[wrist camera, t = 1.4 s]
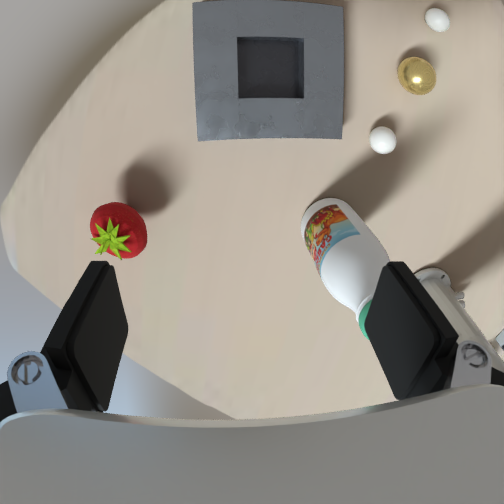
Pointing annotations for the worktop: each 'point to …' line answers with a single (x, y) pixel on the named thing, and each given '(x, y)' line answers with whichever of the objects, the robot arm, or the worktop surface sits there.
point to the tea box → (501, 339)
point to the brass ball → (416, 75)
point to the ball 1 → (382, 140)
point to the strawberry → (118, 230)
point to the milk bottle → (344, 254)
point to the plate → (268, 69)
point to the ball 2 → (437, 19)
